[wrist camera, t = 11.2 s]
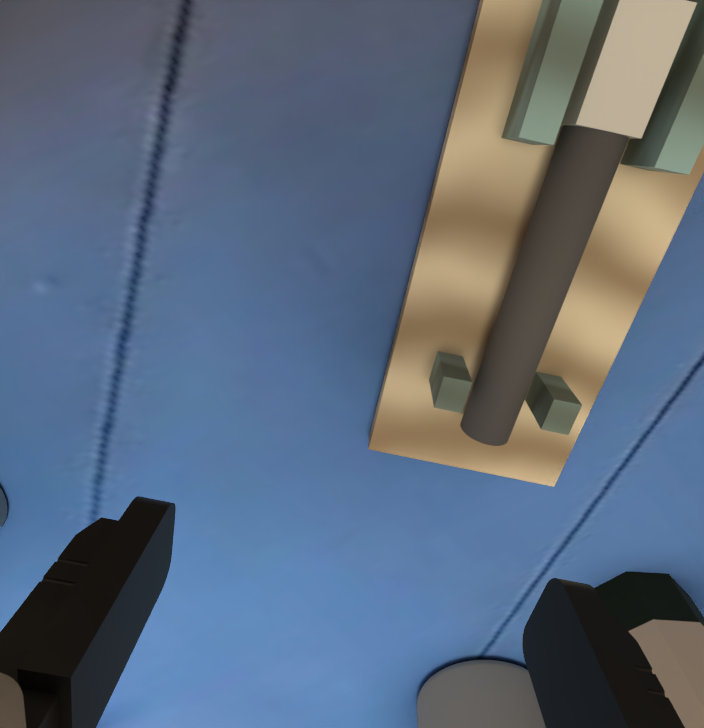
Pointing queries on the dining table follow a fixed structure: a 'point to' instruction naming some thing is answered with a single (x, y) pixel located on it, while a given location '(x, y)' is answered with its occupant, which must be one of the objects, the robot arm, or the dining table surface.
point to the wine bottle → (663, 635)
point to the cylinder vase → (479, 697)
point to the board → (507, 231)
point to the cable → (574, 197)
